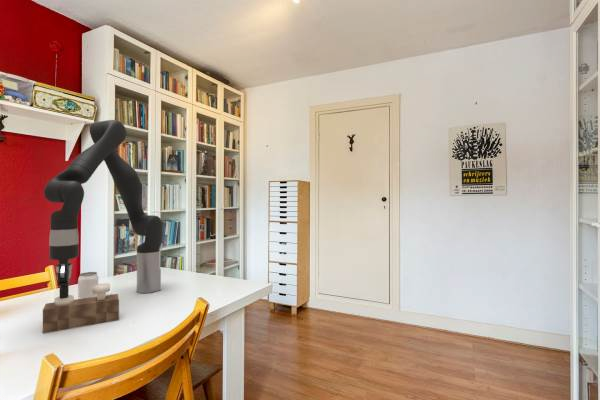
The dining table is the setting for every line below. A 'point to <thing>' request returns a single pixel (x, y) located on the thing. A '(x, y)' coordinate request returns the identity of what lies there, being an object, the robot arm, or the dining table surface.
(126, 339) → the dining table surface
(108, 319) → the mount
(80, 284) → the can
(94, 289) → the knob
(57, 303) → the knob
